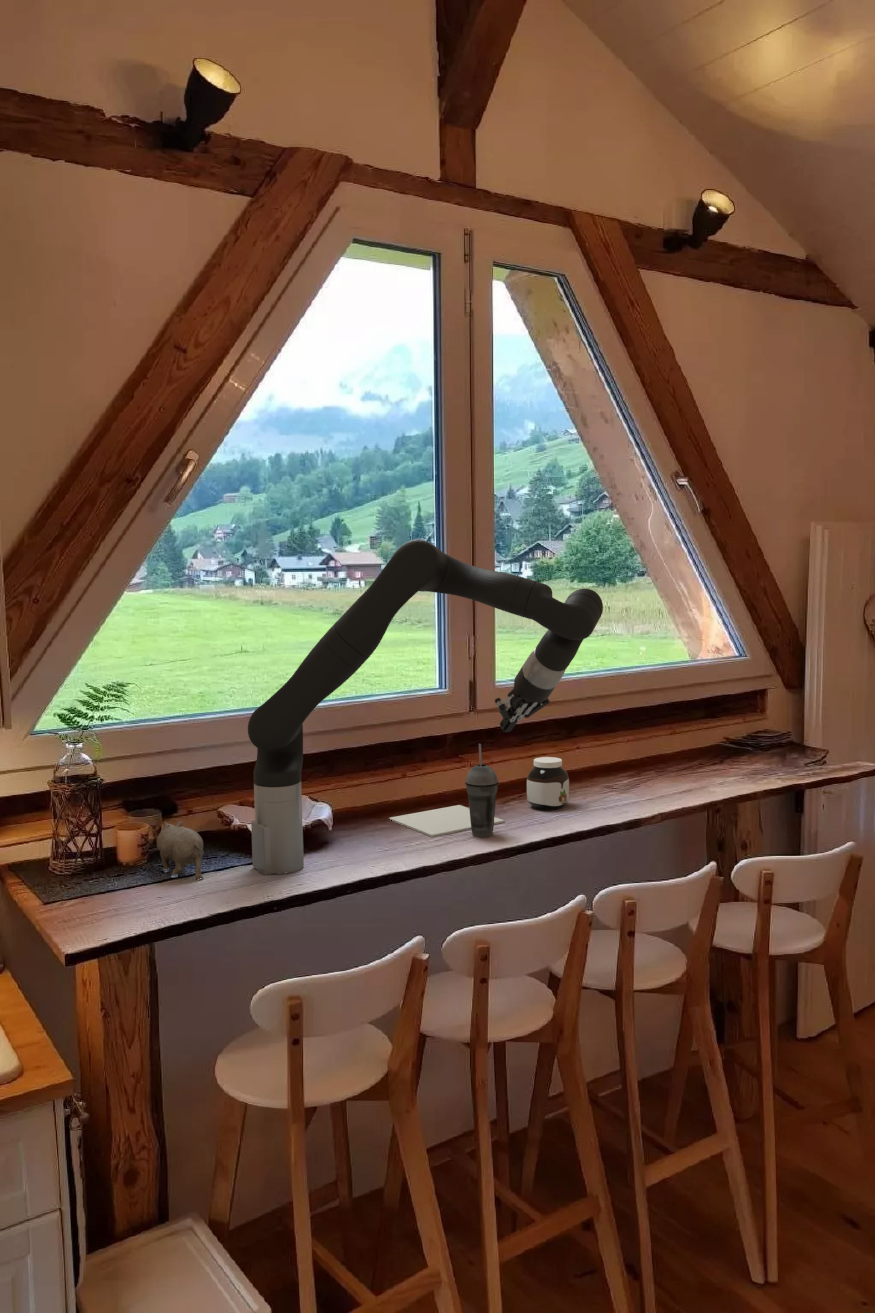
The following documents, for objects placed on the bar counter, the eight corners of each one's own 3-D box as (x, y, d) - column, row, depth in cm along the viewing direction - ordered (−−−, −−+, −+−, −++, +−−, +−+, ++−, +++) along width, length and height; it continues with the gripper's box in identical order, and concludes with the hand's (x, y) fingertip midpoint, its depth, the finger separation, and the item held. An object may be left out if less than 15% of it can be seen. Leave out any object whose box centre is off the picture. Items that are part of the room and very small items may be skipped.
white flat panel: (431, 837, 219) (431, 835, 219) (389, 819, 234) (389, 817, 234) (504, 822, 230) (504, 820, 230) (459, 806, 245) (459, 804, 245)
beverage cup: (471, 840, 216) (470, 748, 214) (461, 831, 223) (460, 742, 221) (503, 837, 218) (502, 746, 216) (492, 829, 225) (492, 740, 223)
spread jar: (544, 813, 237) (544, 765, 236) (511, 805, 246) (511, 758, 245) (579, 805, 245) (579, 758, 244) (546, 797, 254) (545, 751, 253)
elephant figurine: (167, 876, 186) (162, 801, 194) (155, 900, 197) (150, 828, 204) (209, 874, 190) (203, 800, 197) (195, 898, 200) (189, 827, 207)
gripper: (558, 655, 199) (521, 710, 210) (504, 661, 191) (470, 718, 203) (576, 684, 195) (538, 738, 206) (522, 691, 187) (486, 747, 199)
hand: (504, 728), depth 204 cm, fingers closed
